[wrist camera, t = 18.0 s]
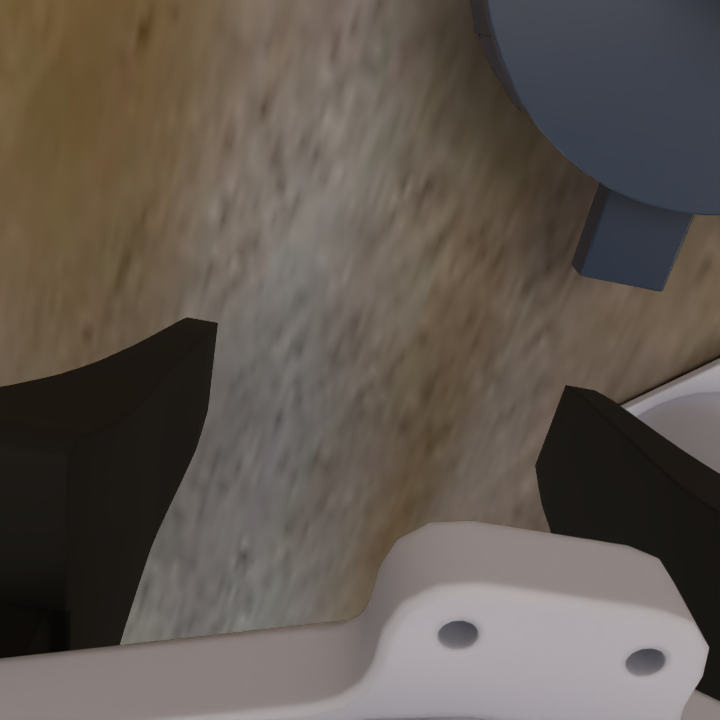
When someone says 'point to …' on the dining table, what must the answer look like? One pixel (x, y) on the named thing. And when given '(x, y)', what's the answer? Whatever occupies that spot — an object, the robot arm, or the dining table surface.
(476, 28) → the pot
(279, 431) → the dining table surface
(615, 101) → the lid
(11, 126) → the dining table surface
